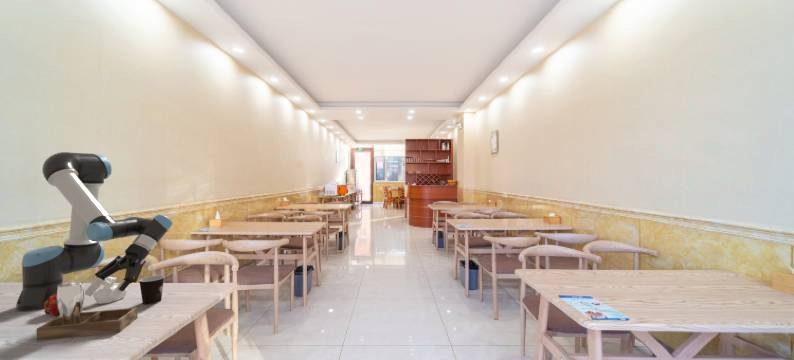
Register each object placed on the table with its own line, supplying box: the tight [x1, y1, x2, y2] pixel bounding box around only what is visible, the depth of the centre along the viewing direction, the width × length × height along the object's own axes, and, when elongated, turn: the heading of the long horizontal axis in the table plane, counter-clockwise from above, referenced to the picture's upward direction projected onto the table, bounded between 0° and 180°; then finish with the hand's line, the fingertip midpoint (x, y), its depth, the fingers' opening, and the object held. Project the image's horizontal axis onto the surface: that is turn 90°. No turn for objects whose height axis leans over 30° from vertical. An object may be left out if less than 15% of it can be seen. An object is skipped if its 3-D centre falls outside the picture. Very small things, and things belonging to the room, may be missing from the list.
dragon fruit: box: [43, 294, 60, 317], centre depth 129 cm, size 8×8×12 cm
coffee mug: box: [138, 275, 165, 306], centre depth 143 cm, size 12×9×10 cm
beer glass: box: [57, 280, 86, 325], centre depth 115 cm, size 7×7×15 cm
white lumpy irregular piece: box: [92, 276, 128, 305], centre depth 143 cm, size 12×8×11 cm
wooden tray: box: [36, 307, 138, 342], centre depth 116 cm, size 12×23×4 cm, turn 105°
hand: (99, 296), depth 122 cm, fingers open, 13 cm apart
